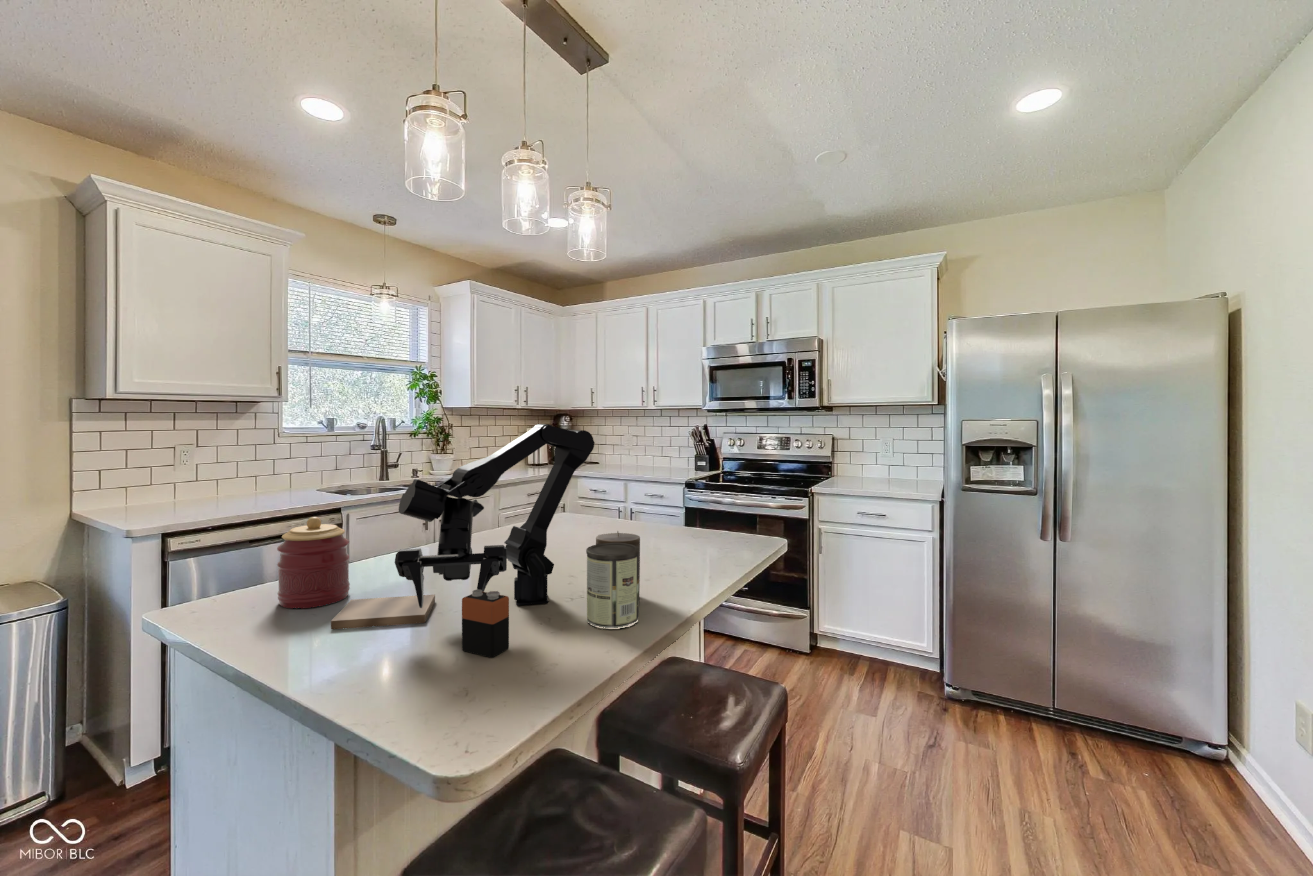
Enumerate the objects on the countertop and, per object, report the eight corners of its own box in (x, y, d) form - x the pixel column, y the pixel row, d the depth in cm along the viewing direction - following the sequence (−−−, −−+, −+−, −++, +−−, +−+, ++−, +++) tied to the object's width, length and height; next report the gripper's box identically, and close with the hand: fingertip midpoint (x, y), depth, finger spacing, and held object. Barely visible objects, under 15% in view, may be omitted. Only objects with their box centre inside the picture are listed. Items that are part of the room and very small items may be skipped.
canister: (361, 589, 122) (360, 511, 122) (328, 610, 109) (327, 523, 109) (302, 589, 122) (301, 511, 121) (262, 610, 109) (261, 522, 108)
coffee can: (602, 607, 112) (603, 540, 112) (647, 615, 108) (648, 545, 107) (575, 625, 103) (575, 551, 102) (623, 634, 99) (624, 557, 98)
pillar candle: (629, 609, 111) (631, 536, 111) (586, 603, 115) (588, 532, 114) (645, 595, 121) (647, 528, 120) (605, 590, 124) (606, 525, 123)
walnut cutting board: (435, 601, 115) (435, 594, 114) (424, 622, 103) (424, 614, 103) (351, 607, 111) (351, 599, 111) (331, 629, 99) (330, 621, 99)
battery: (492, 659, 88) (492, 598, 87) (460, 651, 91) (460, 592, 90) (510, 649, 92) (510, 590, 91) (478, 641, 95) (478, 585, 94)
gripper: (507, 546, 112) (506, 619, 102) (409, 550, 107) (398, 627, 97) (506, 516, 103) (505, 593, 94) (400, 520, 99) (387, 601, 89)
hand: (449, 605), depth 94 cm, fingers open, 9 cm apart
